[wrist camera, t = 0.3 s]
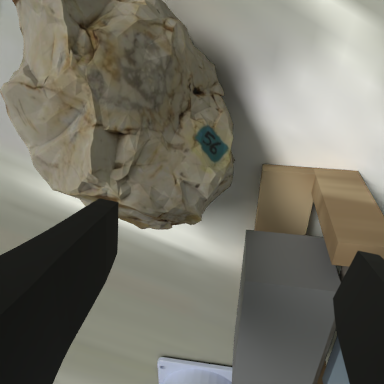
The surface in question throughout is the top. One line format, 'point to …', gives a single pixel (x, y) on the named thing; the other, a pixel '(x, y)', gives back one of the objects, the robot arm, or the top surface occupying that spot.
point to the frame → (322, 215)
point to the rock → (121, 108)
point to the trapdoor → (285, 311)
